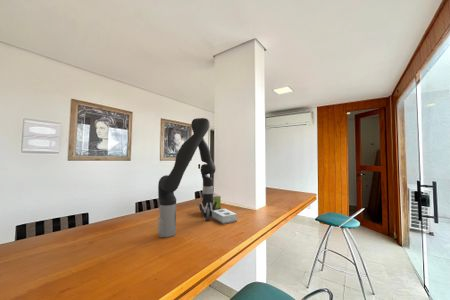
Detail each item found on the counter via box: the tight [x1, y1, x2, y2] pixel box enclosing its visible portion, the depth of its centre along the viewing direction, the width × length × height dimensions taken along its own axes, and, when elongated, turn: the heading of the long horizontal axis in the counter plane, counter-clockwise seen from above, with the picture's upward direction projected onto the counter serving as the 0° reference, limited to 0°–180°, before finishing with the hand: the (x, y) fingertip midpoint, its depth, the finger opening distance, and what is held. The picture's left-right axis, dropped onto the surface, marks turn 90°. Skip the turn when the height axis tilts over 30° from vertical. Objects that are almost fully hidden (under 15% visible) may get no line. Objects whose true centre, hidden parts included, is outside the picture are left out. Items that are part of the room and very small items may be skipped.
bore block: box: [211, 208, 238, 225], centre depth 132 cm, size 11×16×5 cm
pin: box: [204, 207, 211, 222], centre depth 130 cm, size 3×3×9 cm
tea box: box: [202, 192, 222, 210], centre depth 147 cm, size 15×10×15 cm
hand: (207, 217), depth 130 cm, fingers open, 3 cm apart
